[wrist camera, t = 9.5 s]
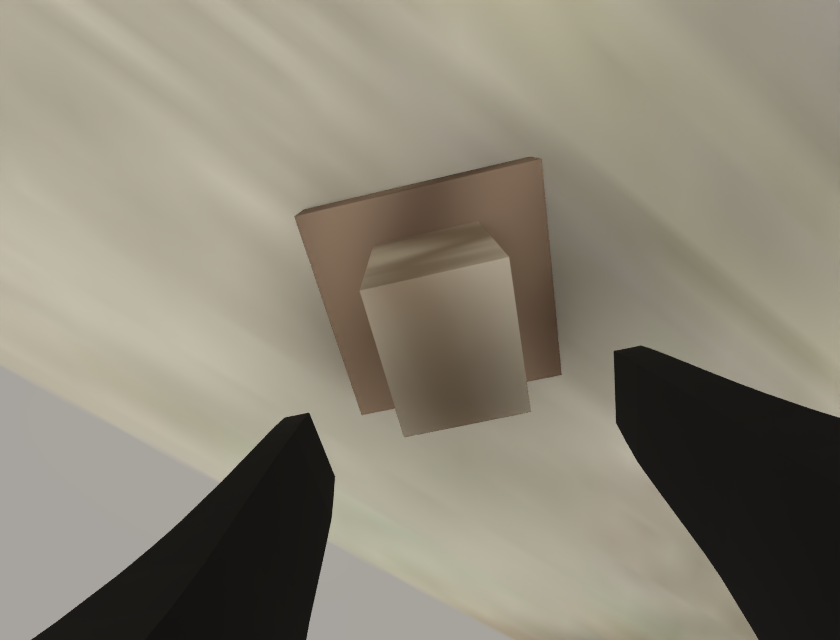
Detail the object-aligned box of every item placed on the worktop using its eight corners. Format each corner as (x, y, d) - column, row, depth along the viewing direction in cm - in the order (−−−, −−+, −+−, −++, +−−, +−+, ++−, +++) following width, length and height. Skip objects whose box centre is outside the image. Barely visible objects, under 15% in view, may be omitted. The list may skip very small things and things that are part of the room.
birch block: (478, 220, 15) (508, 256, 11) (497, 338, 17) (530, 411, 13) (373, 245, 16) (359, 290, 11) (404, 359, 18) (404, 437, 13)
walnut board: (529, 157, 16) (541, 158, 15) (550, 357, 20) (561, 374, 18) (303, 209, 16) (294, 216, 15) (364, 395, 20) (361, 414, 19)
